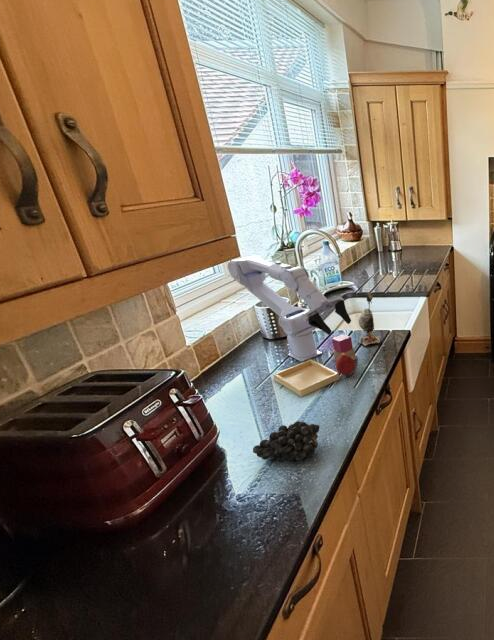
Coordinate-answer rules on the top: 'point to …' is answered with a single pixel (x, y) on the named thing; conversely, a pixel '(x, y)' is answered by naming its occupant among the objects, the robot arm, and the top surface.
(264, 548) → the top surface
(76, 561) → the top surface
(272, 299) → the robot arm
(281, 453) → the fruit
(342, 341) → the mulberry block
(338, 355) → the ash block
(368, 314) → the grey figurine
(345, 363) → the onion
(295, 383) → the tray
